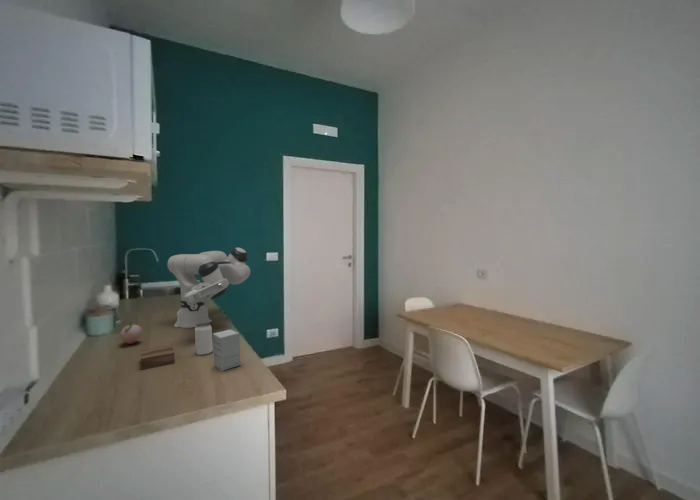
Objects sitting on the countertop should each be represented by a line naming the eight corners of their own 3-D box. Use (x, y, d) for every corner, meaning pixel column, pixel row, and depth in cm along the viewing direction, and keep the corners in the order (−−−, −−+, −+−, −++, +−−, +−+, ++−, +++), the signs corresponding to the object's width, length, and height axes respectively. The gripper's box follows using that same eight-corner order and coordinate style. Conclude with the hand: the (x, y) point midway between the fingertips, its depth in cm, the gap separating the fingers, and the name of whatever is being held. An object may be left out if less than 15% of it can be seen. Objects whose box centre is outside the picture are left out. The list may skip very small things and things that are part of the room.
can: (215, 349, 142) (214, 322, 142) (207, 355, 136) (206, 326, 135) (201, 349, 143) (200, 322, 142) (192, 355, 137) (191, 326, 136)
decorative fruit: (141, 345, 149) (140, 323, 149) (119, 348, 146) (118, 326, 145) (144, 339, 158) (142, 319, 157) (123, 342, 154) (122, 321, 154)
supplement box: (232, 360, 131) (231, 328, 130) (240, 365, 125) (239, 332, 125) (213, 365, 125) (212, 333, 125) (221, 371, 120) (220, 337, 119)
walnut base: (141, 360, 132) (140, 350, 132) (172, 354, 138) (172, 344, 138) (141, 369, 123) (140, 359, 123) (174, 362, 129) (174, 352, 128)
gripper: (226, 288, 168) (235, 285, 157) (186, 307, 155) (192, 306, 144) (221, 276, 167) (229, 273, 156) (180, 295, 155) (185, 293, 144)
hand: (211, 289), depth 150 cm, fingers open, 8 cm apart
